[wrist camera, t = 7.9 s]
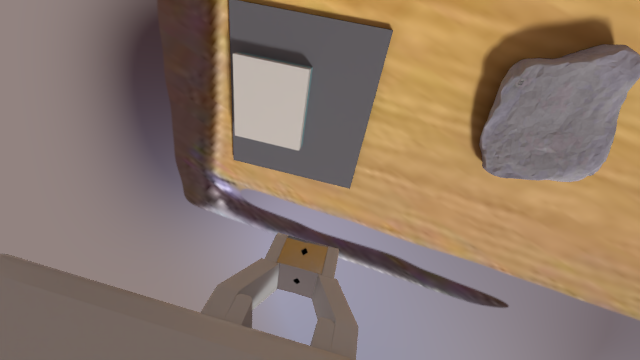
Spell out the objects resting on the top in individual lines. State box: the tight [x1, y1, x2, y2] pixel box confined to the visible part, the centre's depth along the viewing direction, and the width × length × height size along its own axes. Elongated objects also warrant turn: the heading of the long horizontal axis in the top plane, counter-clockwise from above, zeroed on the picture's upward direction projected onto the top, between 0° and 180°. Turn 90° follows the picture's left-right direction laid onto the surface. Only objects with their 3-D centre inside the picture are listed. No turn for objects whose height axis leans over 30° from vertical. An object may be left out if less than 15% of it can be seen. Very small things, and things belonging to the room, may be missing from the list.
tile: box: [233, 52, 313, 151], centre depth 29 cm, size 9×2×8 cm
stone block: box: [479, 44, 640, 182], centre depth 25 cm, size 12×5×10 cm
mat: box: [229, 0, 393, 188], centre depth 30 cm, size 18×16×1 cm
